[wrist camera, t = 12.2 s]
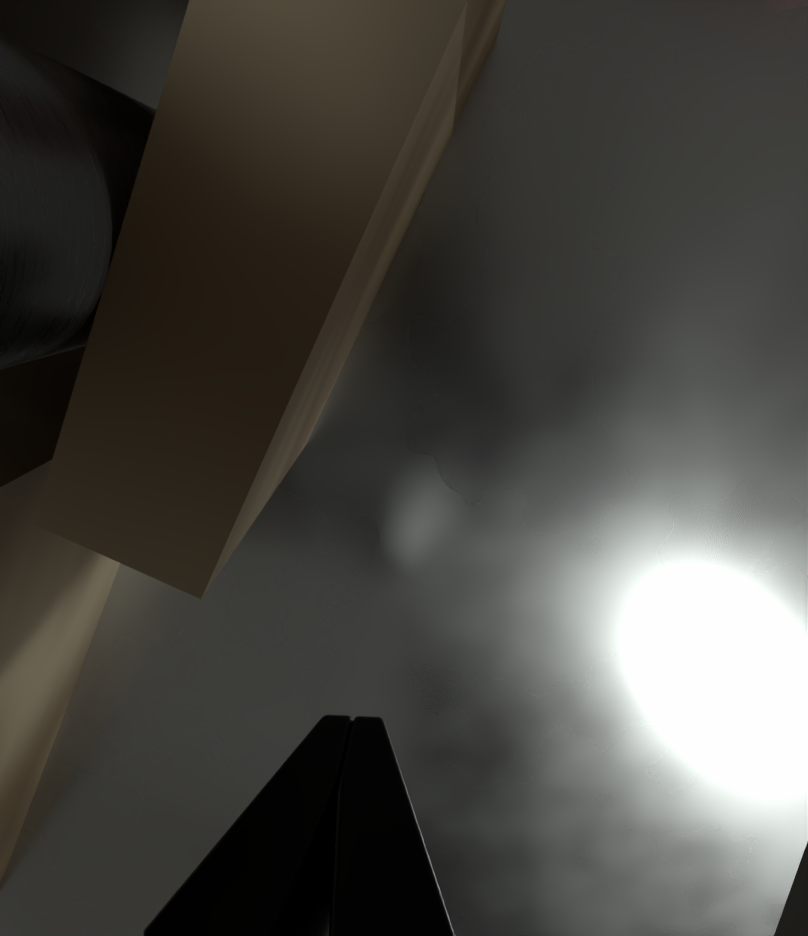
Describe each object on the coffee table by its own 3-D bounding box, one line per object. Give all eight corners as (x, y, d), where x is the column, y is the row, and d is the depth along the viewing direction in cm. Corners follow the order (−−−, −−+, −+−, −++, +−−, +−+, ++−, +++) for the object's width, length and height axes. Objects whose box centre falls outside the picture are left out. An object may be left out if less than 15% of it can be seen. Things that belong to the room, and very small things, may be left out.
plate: (724, 991, 15) (739, 1030, 14) (-183, 925, 16) (-214, 958, 15) (1089, -110, 7) (1163, -150, 7) (-701, -83, 8) (-813, -116, 8)
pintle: (291, 307, 10) (36, 409, 4) (148, 305, 10) (-341, 398, 4) (282, 142, 9) (-73, -104, 3) (127, 141, 9) (-561, -98, 3)
